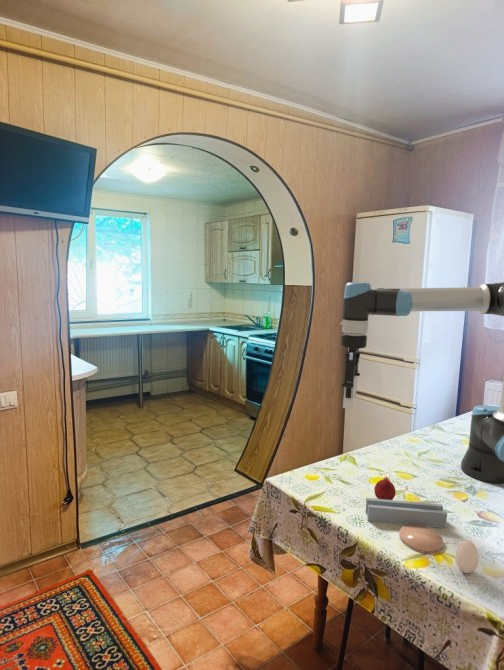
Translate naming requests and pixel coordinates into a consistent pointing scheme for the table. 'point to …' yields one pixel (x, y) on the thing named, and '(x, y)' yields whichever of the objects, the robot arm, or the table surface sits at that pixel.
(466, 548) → the egg
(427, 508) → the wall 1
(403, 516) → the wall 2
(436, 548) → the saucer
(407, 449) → the table surface
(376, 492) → the onion
